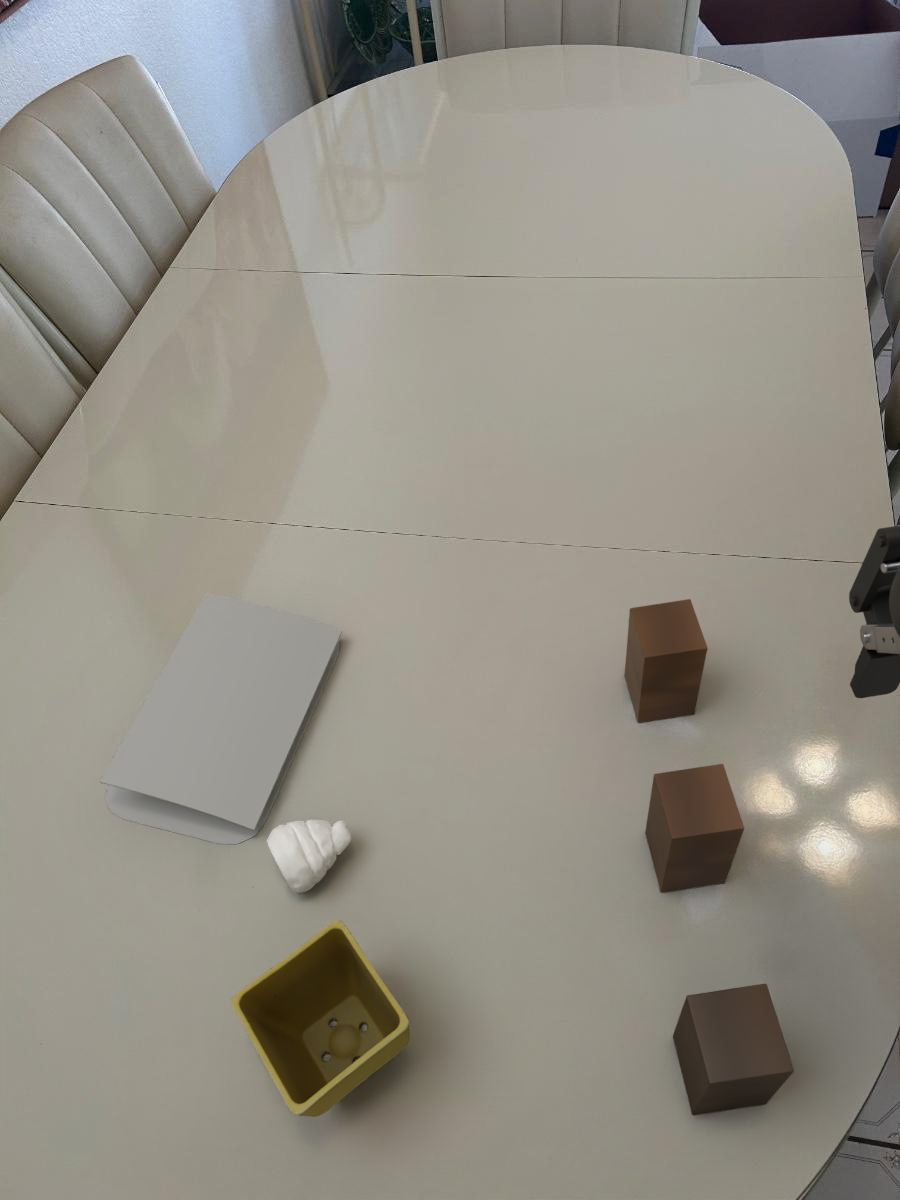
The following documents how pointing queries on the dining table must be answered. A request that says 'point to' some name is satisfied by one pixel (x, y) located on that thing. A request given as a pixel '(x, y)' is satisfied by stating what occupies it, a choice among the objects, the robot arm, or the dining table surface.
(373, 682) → the dining table surface
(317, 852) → the white swirl cone
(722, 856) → the walnut block middle
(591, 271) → the dining table surface
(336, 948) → the flower pot
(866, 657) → the robot arm
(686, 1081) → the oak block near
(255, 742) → the book
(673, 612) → the walnut block far
